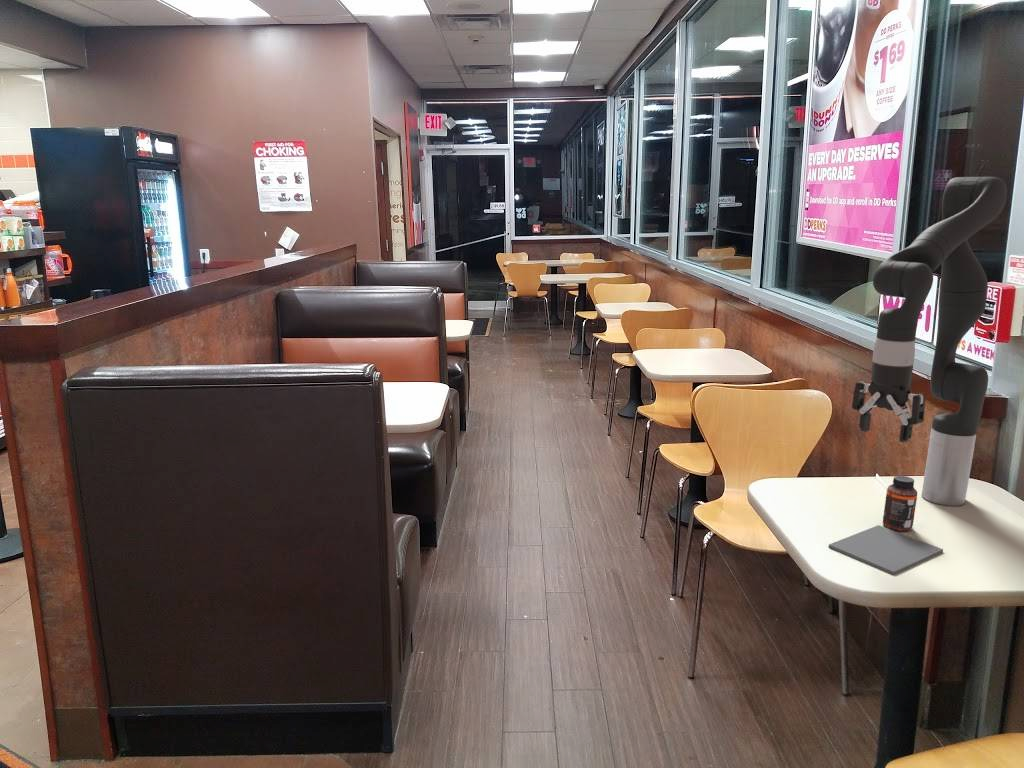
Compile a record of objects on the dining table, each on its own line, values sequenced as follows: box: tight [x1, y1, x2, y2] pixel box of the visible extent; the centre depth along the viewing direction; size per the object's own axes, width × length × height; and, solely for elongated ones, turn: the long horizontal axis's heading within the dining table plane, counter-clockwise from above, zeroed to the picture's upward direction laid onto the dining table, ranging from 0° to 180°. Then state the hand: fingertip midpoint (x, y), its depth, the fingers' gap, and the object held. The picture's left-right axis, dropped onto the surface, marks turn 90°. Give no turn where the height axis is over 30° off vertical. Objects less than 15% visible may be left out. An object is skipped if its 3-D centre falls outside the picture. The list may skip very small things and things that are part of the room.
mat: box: [828, 524, 944, 576], centre depth 156 cm, size 18×14×1 cm
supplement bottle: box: [882, 475, 918, 532], centre depth 166 cm, size 6×6×11 cm
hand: (883, 436), depth 159 cm, fingers open, 8 cm apart
